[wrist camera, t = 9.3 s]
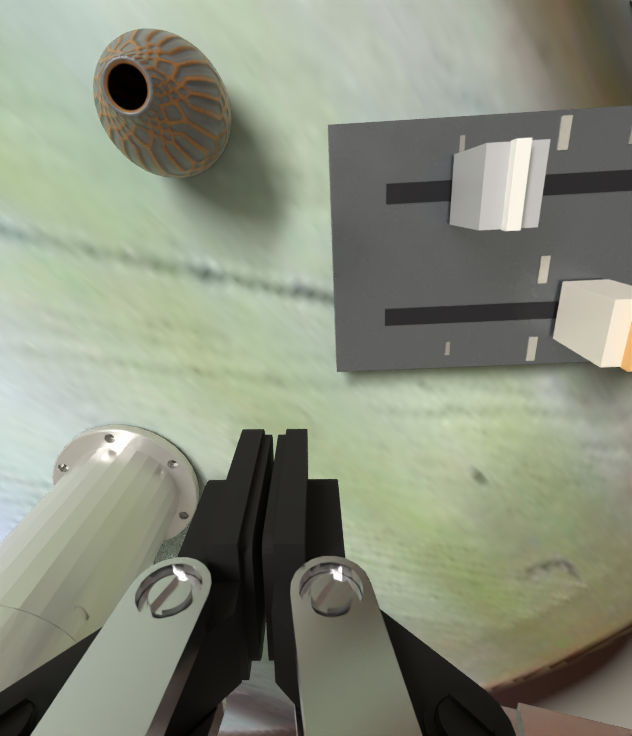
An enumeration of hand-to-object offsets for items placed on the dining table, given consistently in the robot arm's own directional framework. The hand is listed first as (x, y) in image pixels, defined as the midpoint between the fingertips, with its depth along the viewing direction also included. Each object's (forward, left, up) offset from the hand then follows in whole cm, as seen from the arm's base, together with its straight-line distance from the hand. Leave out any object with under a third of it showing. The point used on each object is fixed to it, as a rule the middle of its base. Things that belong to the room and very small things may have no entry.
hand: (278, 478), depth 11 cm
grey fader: (+7, -11, -19) cm, 23 cm away
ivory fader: (-1, -19, -19) cm, 27 cm away
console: (+3, -14, -21) cm, 26 cm away
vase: (+12, +7, -22) cm, 26 cm away
